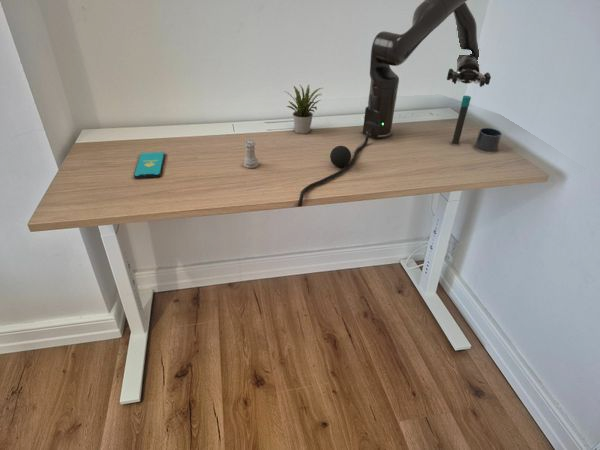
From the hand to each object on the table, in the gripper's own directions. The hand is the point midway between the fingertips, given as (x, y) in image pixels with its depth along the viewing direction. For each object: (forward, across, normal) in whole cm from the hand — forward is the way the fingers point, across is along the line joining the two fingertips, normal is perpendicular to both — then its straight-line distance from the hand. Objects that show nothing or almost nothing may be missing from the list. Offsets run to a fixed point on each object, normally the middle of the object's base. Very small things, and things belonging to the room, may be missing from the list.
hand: (468, 82), depth 143 cm
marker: (+12, 0, +18) cm, 21 cm away
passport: (+60, -88, +18) cm, 108 cm away
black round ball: (+40, -34, +18) cm, 55 cm away
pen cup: (+12, +10, +18) cm, 23 cm away
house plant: (+19, -51, +18) cm, 58 cm away
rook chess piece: (+50, -60, +18) cm, 80 cm away
